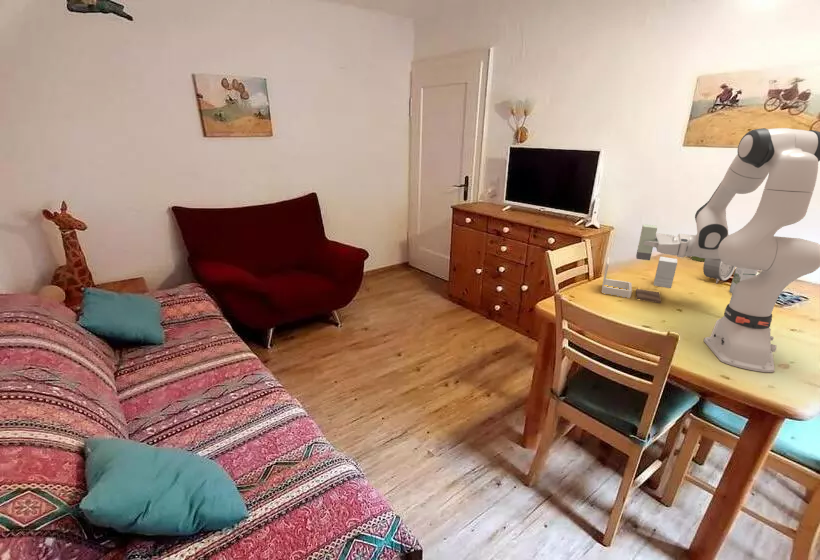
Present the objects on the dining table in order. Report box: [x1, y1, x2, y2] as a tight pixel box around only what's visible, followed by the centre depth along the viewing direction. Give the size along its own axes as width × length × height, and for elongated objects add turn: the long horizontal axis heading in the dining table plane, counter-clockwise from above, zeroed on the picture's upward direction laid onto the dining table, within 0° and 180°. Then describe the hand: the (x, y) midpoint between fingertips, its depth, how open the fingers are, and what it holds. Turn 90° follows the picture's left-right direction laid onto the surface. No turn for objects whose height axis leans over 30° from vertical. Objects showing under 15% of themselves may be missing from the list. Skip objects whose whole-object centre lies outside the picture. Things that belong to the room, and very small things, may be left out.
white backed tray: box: [601, 256, 633, 299], centre depth 183 cm, size 12×12×14 cm
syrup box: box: [728, 267, 759, 294], centre depth 181 cm, size 6×6×14 cm
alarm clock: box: [702, 259, 736, 284], centre depth 196 cm, size 16×9×22 cm, turn 120°
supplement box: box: [653, 256, 678, 289], centre depth 192 cm, size 7×7×13 cm
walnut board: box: [635, 288, 662, 304], centre depth 180 cm, size 11×9×1 cm
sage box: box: [635, 223, 658, 261], centre depth 173 cm, size 5×5×14 cm
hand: (643, 240), depth 173 cm, fingers closed on sage box, 5 cm apart
